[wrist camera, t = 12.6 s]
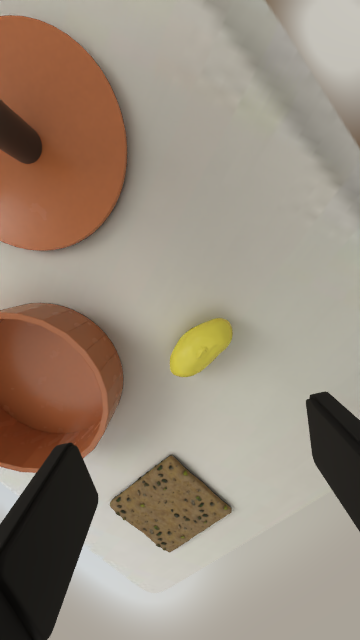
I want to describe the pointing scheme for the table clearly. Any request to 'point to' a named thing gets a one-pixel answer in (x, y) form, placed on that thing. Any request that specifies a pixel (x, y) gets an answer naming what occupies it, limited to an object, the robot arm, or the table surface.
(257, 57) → the table surface
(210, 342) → the lemon
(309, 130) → the table surface
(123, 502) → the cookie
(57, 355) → the pot
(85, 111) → the lid
